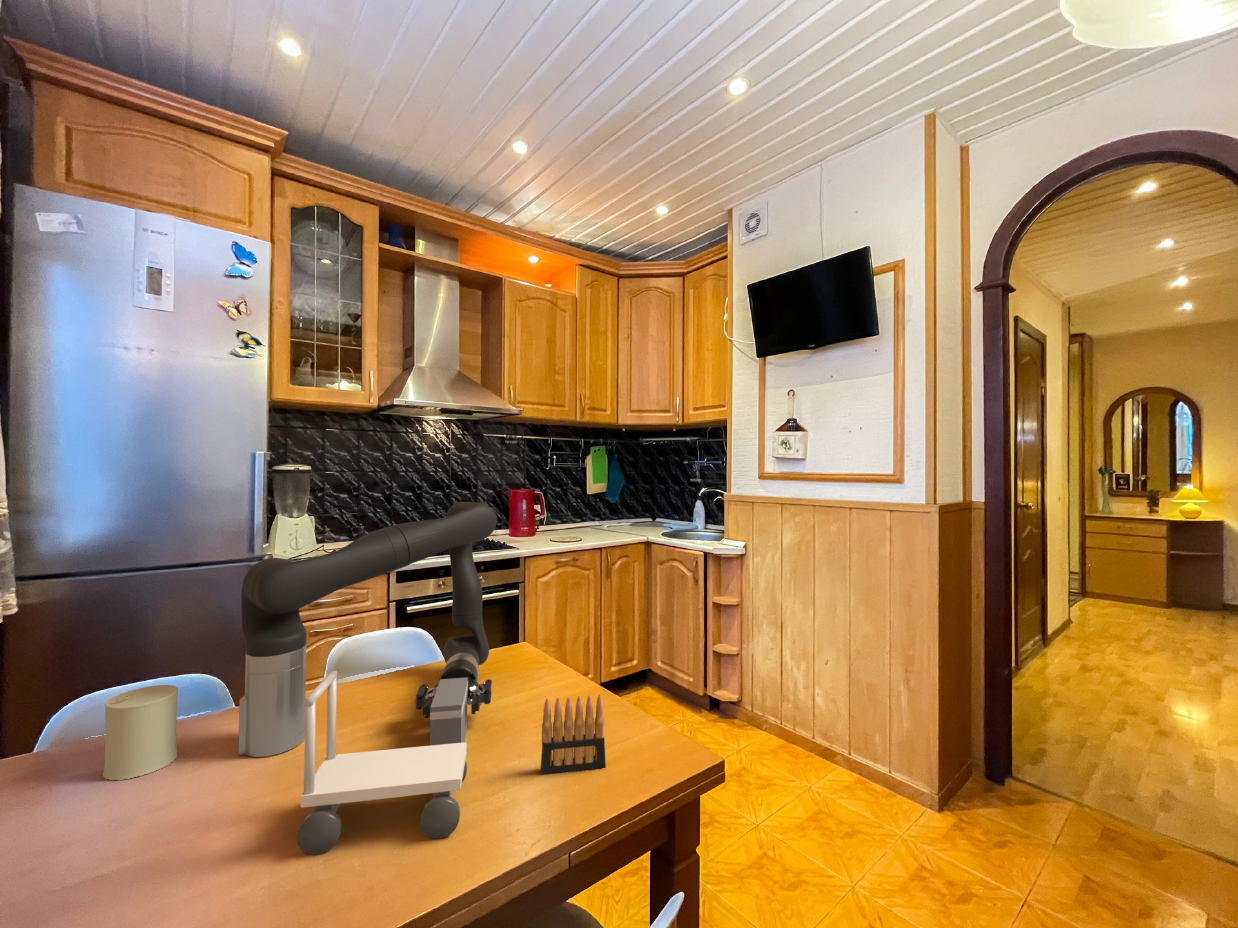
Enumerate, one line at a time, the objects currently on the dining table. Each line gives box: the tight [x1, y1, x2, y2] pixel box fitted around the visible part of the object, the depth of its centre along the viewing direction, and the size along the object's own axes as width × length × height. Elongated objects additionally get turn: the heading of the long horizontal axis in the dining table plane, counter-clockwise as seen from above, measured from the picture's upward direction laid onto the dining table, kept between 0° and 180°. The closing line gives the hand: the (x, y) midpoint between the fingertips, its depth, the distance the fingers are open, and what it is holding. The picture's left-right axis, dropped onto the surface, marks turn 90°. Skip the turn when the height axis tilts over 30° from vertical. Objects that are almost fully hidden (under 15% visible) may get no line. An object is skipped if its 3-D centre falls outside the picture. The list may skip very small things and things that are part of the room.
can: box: [102, 684, 179, 781], centre depth 88 cm, size 9×9×12 cm
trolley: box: [296, 670, 468, 856], centre depth 75 cm, size 20×12×20 cm, turn 101°
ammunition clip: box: [540, 694, 607, 776], centre depth 87 cm, size 11×2×12 cm, turn 101°
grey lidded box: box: [429, 678, 468, 746], centre depth 94 cm, size 5×12×10 cm, turn 12°
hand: (450, 710), depth 94 cm, fingers open, 7 cm apart
